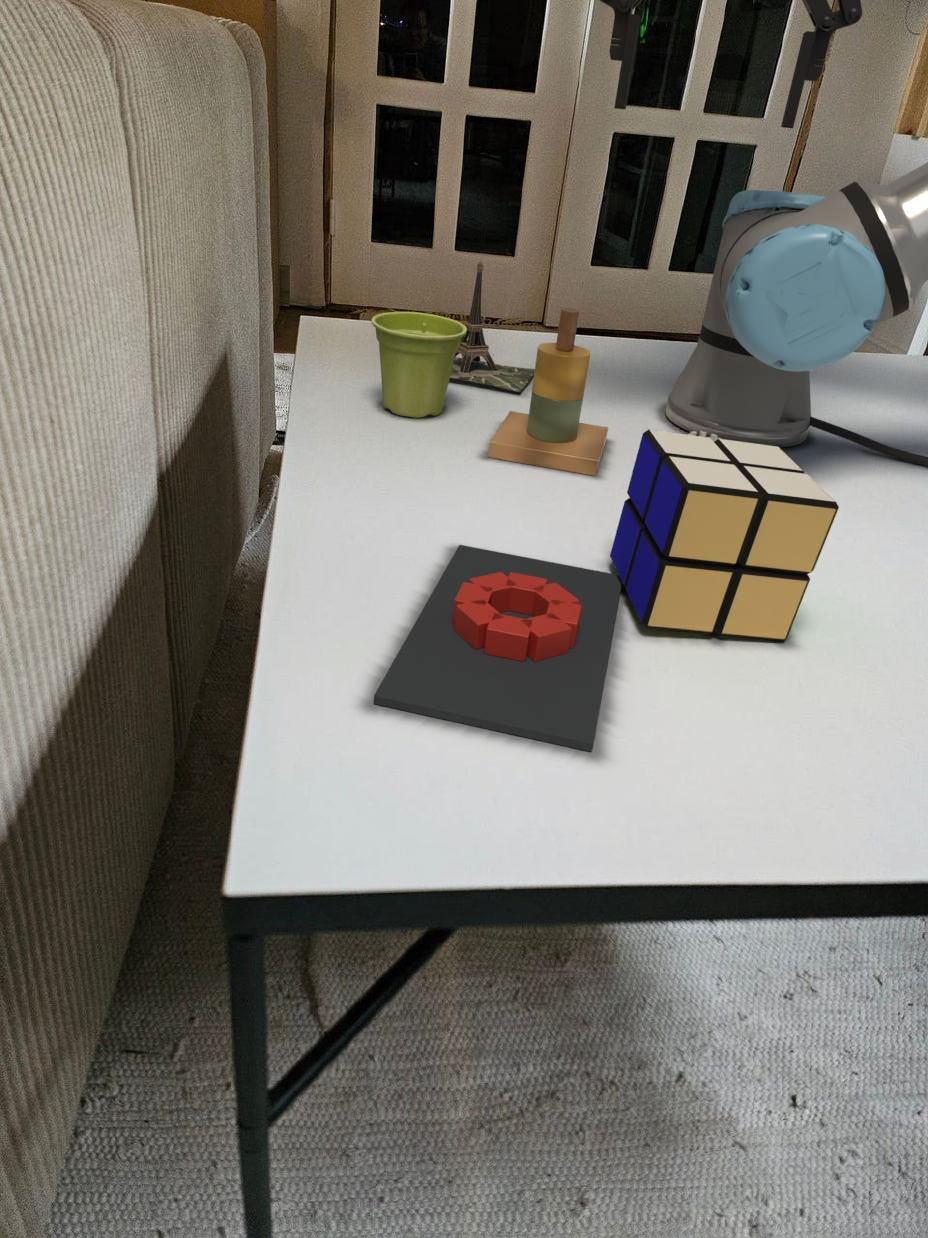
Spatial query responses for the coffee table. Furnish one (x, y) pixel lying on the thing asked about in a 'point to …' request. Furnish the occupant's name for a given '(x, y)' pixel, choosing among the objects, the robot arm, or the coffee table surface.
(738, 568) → the puzzle cube
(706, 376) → the robot arm
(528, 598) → the red ring
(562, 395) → the stack tower
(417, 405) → the plant pot
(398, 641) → the coffee table surface
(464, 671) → the slate mat
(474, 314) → the eiffel tower figurine
